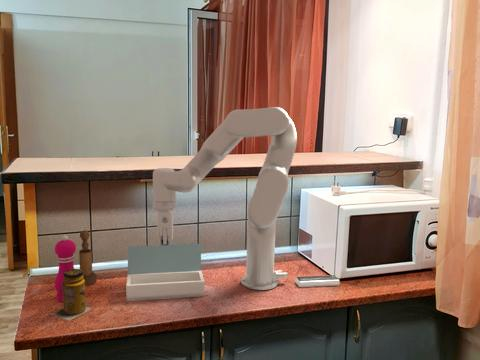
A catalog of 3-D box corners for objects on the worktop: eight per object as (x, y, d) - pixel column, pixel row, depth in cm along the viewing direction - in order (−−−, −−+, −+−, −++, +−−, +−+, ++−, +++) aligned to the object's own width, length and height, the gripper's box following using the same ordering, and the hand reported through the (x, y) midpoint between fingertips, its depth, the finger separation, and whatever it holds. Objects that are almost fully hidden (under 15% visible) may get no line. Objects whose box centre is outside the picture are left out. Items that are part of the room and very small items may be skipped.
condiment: (92, 308, 124) (91, 270, 122) (69, 321, 116) (67, 280, 114) (74, 303, 127) (72, 265, 125) (50, 315, 120) (48, 275, 118)
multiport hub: (295, 282, 147) (295, 276, 147) (334, 281, 150) (334, 275, 149) (299, 288, 143) (299, 281, 143) (339, 286, 145) (339, 280, 145)
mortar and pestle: (96, 285, 140) (94, 233, 137) (75, 287, 138) (73, 234, 135) (96, 277, 146) (95, 227, 143) (77, 279, 144) (74, 228, 141)
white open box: (201, 284, 143) (201, 270, 142) (204, 296, 134) (204, 281, 133) (128, 288, 138) (127, 274, 137) (126, 301, 129) (126, 285, 128)
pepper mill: (71, 303, 127) (68, 239, 123) (49, 301, 128) (46, 237, 125) (84, 293, 134) (82, 232, 130) (64, 291, 135) (61, 231, 132)
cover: (201, 270, 142) (201, 270, 143) (200, 243, 143) (200, 243, 144) (127, 274, 137) (127, 274, 138) (127, 246, 138) (127, 246, 139)
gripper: (176, 209, 136) (176, 264, 139) (174, 199, 150) (174, 249, 154) (152, 210, 135) (153, 265, 138) (153, 200, 149) (153, 249, 152)
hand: (164, 256), depth 146 cm, fingers closed
